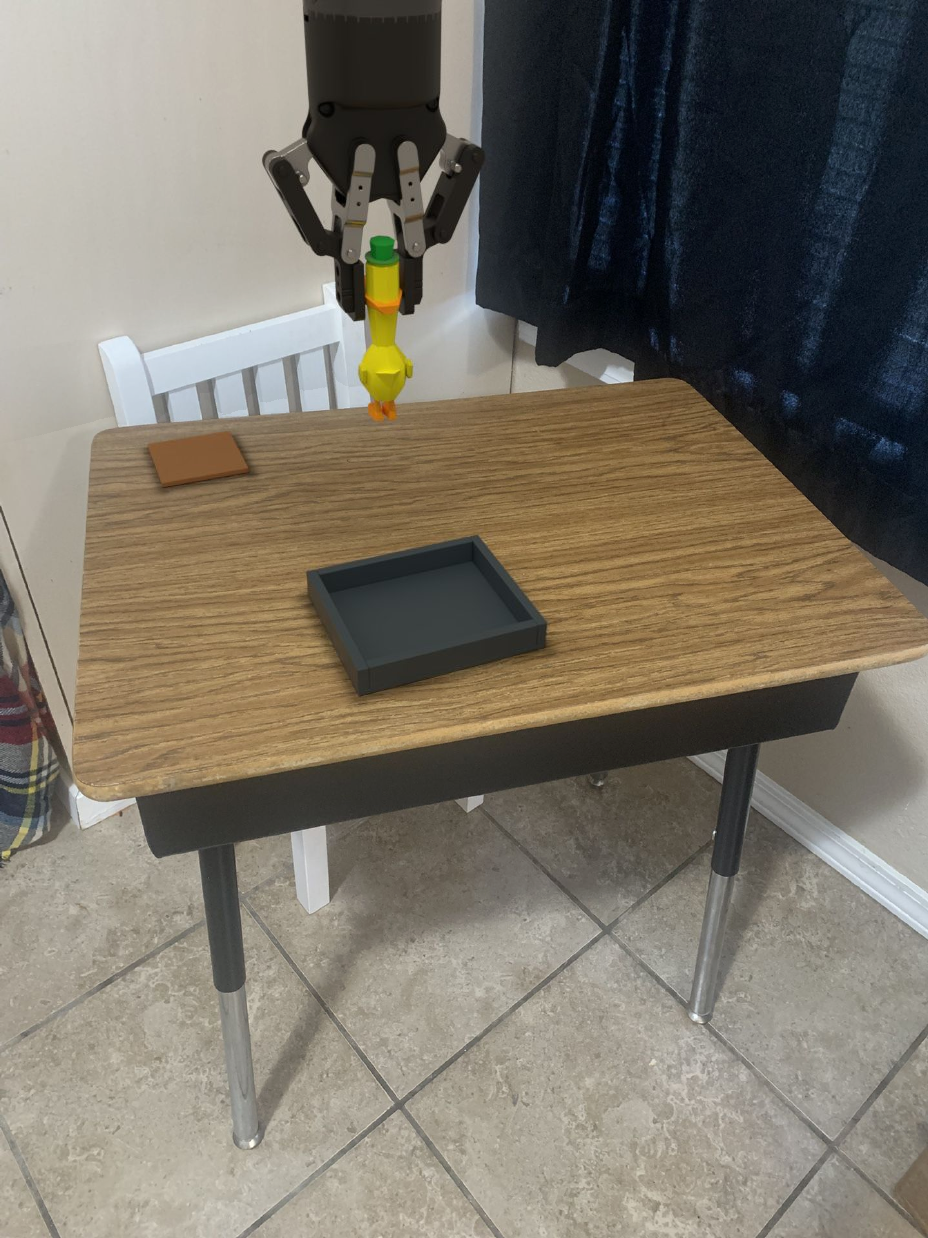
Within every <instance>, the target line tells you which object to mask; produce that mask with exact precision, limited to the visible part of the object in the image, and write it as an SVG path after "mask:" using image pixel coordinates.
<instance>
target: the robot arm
mask: <svg viewBox="0 0 928 1238" xmlns="http://www.w3.org/2000/svg"><path fill="white" fill-rule="evenodd" d="M442 2H443V0H302V17H303V34H304V35H303V36H304V49H305V50H304V51H305V67H306V83H307V100H308V109H307V115H306V118H305V121H304V123H303V125H302V129H301V137H300V138H299V139H297V140H295V141H293V142H292V143H291V144H289V145H288V146H285V147H284V148H282V149H280V150H279V151H277V150H275V149H269V150H266V151H265V152H264V153H263V154H262V158H261V163H262V166H263V168H264V170H265V172H266V174H267V176H268V177H269V179H270V181H271V183H272V185H273V187H274V188H275V190H276V192H277V194H278V196H279V199H280V200H281V202H282V204H283V206H284V207H285V209H286V212H287V213H288V215H289V217H290V218H291V220H292V222H293V225H294V226H295V228H296V229H297V232H298V234H299V235H300V237H301V240H302V241H303V242H304V243H305V244H306V245H307V246H309V247H310V249H311V251H312V252H313V253H314V254H315V255H316V256H318V257H330V258H333V267H334V288H335V300H336V302H337V304H338V306H339V307H340V308H341V310H342V311H343V312H344V313H345V314H346V315H347V316H348V317H349V318H350V319H351V320H352V321H353V322H362V321H365V320H366V317H367V315H366V314H367V313H366V311H367V310H366V305H365V278H364V275H365V263H364V262H363V261H362V260H361V259H360V257H361V254H362V253H361V252H362V243H363V242H362V241H363V234H364V227H365V226H366V225H367V223H368V215H369V205H370V204H371V203H374V202H375V201H378V200H381V199H383V200H386V204H387V208H388V209H389V212H390V216H391V224H392V230H393V234H394V240H395V243H396V247H397V248H393V252H395V253H397V254H398V255H399V260H398V261H399V288H400V289H401V290H402V298H401V302H400V306H399V308H398V313H400V314H401V315H402V316H410V315H415V311H416V306H418V305H421V302H422V299H423V297H424V288H423V287H424V255H425V254H426V252H427V251H428V250H429V249H430V248H433V247H434V246H436V245H438V244H440V245H446V244H447V243H449V242H450V241H451V240H452V238H453V236H454V234H455V231H456V229H457V226H458V225H459V222H460V220H461V217H462V214H463V212H464V210H465V207H466V205H467V203H468V200H469V198H470V196H471V194H472V191H473V189H474V187H475V184H476V181H477V180H478V177H479V175H480V172H481V170H482V168H483V165H484V164H485V160H486V152H485V150H484V149H483V148H482V147H481V146H479V145H477V144H475V143H474V142H472V141H471V140H468V139H467V138H465V137H459V138H458V137H456V136H455V135H452V134H450V133H448V130H447V124H446V122H445V120H444V118H443V116H442V113H441V109H440V98H441V85H442V83H441V81H442V79H441V78H442V77H441V76H442V18H443V17H442V13H443V12H442V11H443V10H442V9H443V8H442V7H443V3H442ZM438 155H439V156H440V157H439V160H438V166H439V169H440V170H441V172H440V174H439V177H438V179H437V182H436V184H435V187H434V189H433V192H432V194H431V197H430V198H429V202H428V204H427V206H426V208H425V210H424V202H423V195H422V194H423V193H422V187H421V183H422V182H423V180H424V179H425V176H426V175H427V173H428V171H429V170H430V168H431V166H432V164H433V163H434V162H435V160H436V158H437V156H438ZM311 159H313V160H314V162H315V163H316V164H317V166H318V167H319V168H320V170H321V171H322V172H323V174H324V175H325V177H326V178H327V179H328V180H329V182H330V183H331V184H332V185H331V186H332V187H331V199H330V209H331V225H330V227H331V228H330V229H327V228H325V227H324V225H323V223H322V221H321V219H320V218H319V215H318V214H317V212H316V209H315V208H314V205H313V204H312V202H311V200H310V198H309V196H308V194H307V192H306V190H305V188H304V187H306V186H307V185H308V184H309V182H310V179H311V175H310V171H309V163H310V161H311Z"/></svg>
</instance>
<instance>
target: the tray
mask: <svg viewBox="0 0 928 1238" xmlns="http://www.w3.org/2000/svg"><path fill="white" fill-rule="evenodd" d="M305 573H306V575H305V577H306V587H307V596H308V599H309V600H310V602H311V605H312V606H313V608H314V610H315V612H316V615H317V616H318V618H319V620H320V622H321V624H322V626H323V628H324V630H325V632H326V634H327V636H328V639H330V642H331V644H332V646H333V648H334V650H335V652H336V654H337V656H338V657H339V660H340V662H341V664H342V665H343V668H344V669H345V671H346V673H347V675H348V677H349V680H350V681H351V684H352V685H353V687H354V689H355V692H356V693H357V696H359V697H362V696H366V695H369V694H373V693H377V692H380V691H384V690H388V689H392V688H395V687H400V686H403V685H407V684H412V683H415V682H419V681H423V680H427V679H430V678H434V677H438V676H442V675H445V674H449V673H453V672H457V671H461V670H465V669H468V668H472V667H475V666H479V665H484V664H487V663H491V662H494V661H495V662H496V661H500V660H502V659H506V658H511V657H514V656H518V655H523V654H525V653H530V652H533V651H537V650H542V649H545V648H546V642H547V641H546V639H547V631H548V621H547V620H546V618H545V617H544V616H543V615H542V613H540V611H539V610H538V609H537V607H536V606H535V605H534V603H533V602H532V601H531V600H530V598H529V597H528V596H527V595H526V593H525V592H524V591H523V590H522V588H521V587H520V586H519V585H518V583H517V582H516V581H515V580H514V578H513V577H512V576H511V575H510V573H509V572H508V570H506V568H505V567H504V566H503V565H502V563H501V562H500V560H499V559H498V558H497V557H496V556H495V554H494V553H493V552H492V550H491V549H490V548H489V547H488V545H487V544H486V543H485V542H484V541H483V539H482V537H480V535H479V534H474V535H470V536H464V537H459V538H455V539H450V540H446V541H440V542H436V543H432V544H427V545H421V546H418V547H413V548H407V549H403V550H398V551H395V552H389V553H386V554H385V553H384V554H381V555H375V556H371V557H366V558H361V559H357V560H352V561H347V562H343V563H339V564H333V565H328V566H324V567H319V568H316V569H315V568H314V569H310V570H306V571H305Z"/></svg>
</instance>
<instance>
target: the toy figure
mask: <svg viewBox="0 0 928 1238" xmlns="http://www.w3.org/2000/svg"><path fill="white" fill-rule="evenodd" d="M395 243H396V241H395V238H393V237H390V236H388V235H376V236H371V237H370V238H369V247H370V250H368V251H367V252H365V254H364V259H365V260H366V262H365V263H364V278H365V306H366V309H367V310H366V311H367V316H368V324H369V330H370V331H369V332H370V337H371V344H370V345H369V347H368V348H367V349H366V351H365V353H364V354H363V356H362V359H361V363H359V364H358V367H357V368H358V370H357V375H358V379H359V381H360V383H361V385H362V387H364V389H365V390H366V391H367V392H368V394H369V396H370V397H371V398H372V399H373V401H372V402H369V403H368V404H367V414H368V415H369V417H371V418H372V419H373V420H374V421H375V422H384V421H385V418H384V417H386V418H387V419H388V420H389V421H395V420H397V409H396V408H397V407H396V403H395V400H396V399H397V398H398V396H399V395H400V394H401V392H402V390H403V389H404V387H405V385H406V381H407V379H412V378H413V374H414V365H413V362H412V359H411V358H407V356H406V355H405V354H404V352H403V351H402V349H401V348H400V347H399V346H398V344H397V343H396V334H397V325H398V316H399V311H398V308H399V306H400V302H401V298H402V290H401V289H400V288H399V261H398V260H399V255H398V254H397V253H395V252H393V249H395V248H394V247H395ZM381 402H382V403H381Z"/></svg>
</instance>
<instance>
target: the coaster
mask: <svg viewBox="0 0 928 1238" xmlns="http://www.w3.org/2000/svg"><path fill="white" fill-rule="evenodd" d="M147 449H148V452H149V454H150V457H151V460H152V463H153V466H154V468H155V470H156V473H157V477H158V479H159V482H160V483H161V484H160V485H161V487H162V488H167V487H173V486H174V487H175V486H179V485H186V484H190V483H196V482H202V481H207V480H214V479H218V478H225V477H229V476H236V475H241V474H247V473H249V472H250V469H249V466H248V464H247V463H246V461H245V458H244V457H243V455H242V453H241V451H240V449H239V447H238V445H237V443H236V441H235V439H234V436H233V435H232V433H231V431H230V430H226V431H220V432H214V433H213V432H212V433H207V434H200V435H195V436H188V437H183V438H177V439H170V440H164V441H157V442H152V443H147Z"/></svg>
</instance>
